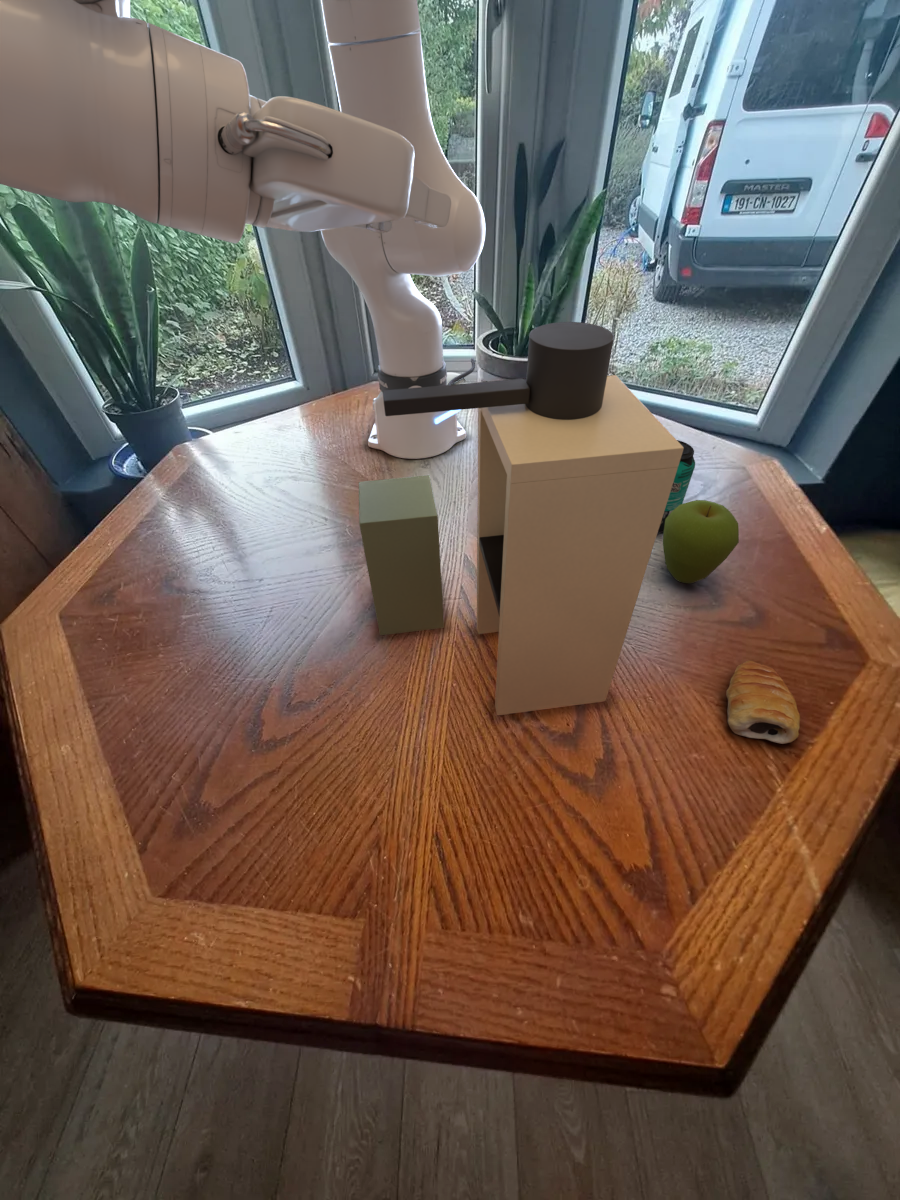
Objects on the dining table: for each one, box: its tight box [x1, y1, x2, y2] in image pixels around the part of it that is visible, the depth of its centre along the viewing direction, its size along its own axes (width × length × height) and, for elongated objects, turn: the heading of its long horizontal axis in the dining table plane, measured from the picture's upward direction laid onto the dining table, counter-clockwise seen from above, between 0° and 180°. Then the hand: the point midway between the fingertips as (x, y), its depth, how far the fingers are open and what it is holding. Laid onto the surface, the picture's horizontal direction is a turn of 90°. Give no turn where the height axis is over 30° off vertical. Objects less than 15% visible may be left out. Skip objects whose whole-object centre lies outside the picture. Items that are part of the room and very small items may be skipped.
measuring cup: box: [383, 321, 615, 420], centre depth 39 cm, size 6×17×5 cm, turn 98°
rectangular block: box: [358, 474, 445, 636], centre depth 61 cm, size 8×8×17 cm
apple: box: [662, 499, 740, 584], centre depth 66 cm, size 9×8×12 cm
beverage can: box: [658, 439, 696, 533], centre depth 75 cm, size 7×7×12 cm
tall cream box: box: [476, 374, 684, 716], centre depth 50 cm, size 13×12×30 cm
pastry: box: [725, 660, 801, 745], centre depth 54 cm, size 9×7×4 cm
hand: (414, 217), depth 38 cm, fingers open, 8 cm apart
